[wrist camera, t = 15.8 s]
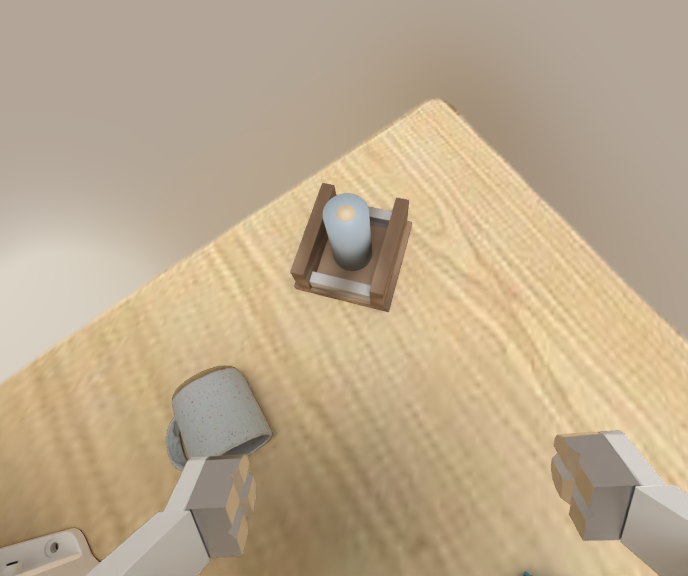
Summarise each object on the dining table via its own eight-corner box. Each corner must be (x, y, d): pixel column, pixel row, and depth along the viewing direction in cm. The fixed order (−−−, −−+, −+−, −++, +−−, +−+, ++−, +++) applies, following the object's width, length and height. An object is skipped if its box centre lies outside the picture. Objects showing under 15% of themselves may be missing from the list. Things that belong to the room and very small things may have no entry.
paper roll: (335, 272, 46) (323, 236, 37) (333, 238, 47) (321, 195, 39) (373, 269, 45) (370, 231, 37) (370, 234, 47) (367, 190, 38)
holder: (296, 288, 47) (284, 270, 42) (324, 207, 50) (317, 181, 45) (388, 312, 45) (388, 296, 39) (411, 226, 48) (414, 201, 43)
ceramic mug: (247, 366, 44) (218, 353, 37) (282, 433, 41) (259, 434, 34) (162, 420, 43) (115, 418, 36) (192, 492, 40) (148, 506, 33)
